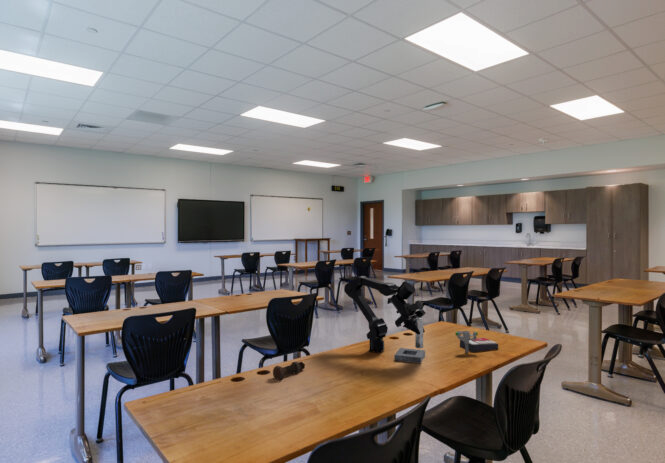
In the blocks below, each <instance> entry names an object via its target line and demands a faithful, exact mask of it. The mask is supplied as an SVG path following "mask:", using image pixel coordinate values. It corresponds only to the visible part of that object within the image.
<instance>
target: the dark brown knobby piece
mask: <svg viewBox="0 0 665 463" xmlns="http://www.w3.org/2000/svg"><path fill="white" fill-rule="evenodd" d="M305 368H306V364H305V363H304V362H303V361H292V362H291V364H289V365H286V366H283V367H282V366H279V365H276V366H274V367H273V370H272V377H273V378H274V380H278V381H281V380H283V379H284V377H285V376H287V375H290V374H292V373H293V374H299V373H300V372H301V370H304V369H305Z"/></svg>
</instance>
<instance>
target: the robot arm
mask: <svg viewBox="0 0 665 463" xmlns="http://www.w3.org/2000/svg"><path fill="white" fill-rule="evenodd" d="M364 287H368V288H370V289H374V290H376V291H378V293H379V294H381V295H382V296H385V297H388V298H387V303H386V304H387V305H389V304H392V305H393V306H394V308H395V310H396V312H395V313H396V314H399V315H400V316H398V318H397V319H395V321H394V325H395V326H396V328H400V327H403V328H405V329H407V330H409V331H411V332H413V333H414V334H415V333H417V334H418V335H420V334H421V333H420V331H419V329H418V328H417V326H416V325H415V318H423V317H424V316H425V315H426V314H427V313H426V311H425V310H424V309H423V308H424V307H423V306H424V303H423V302H422V301H421V300H420V299H418V300H415V301H414V303H410V302H407V300H408V299H409V298H411V296H413V295H414V293H415V292H416V288H415V286H414V285H412V284H411V283H410V282H407V281H406V280H405V281H402V283H401V285H400V286H398V285H397V284H396V283H395V282H386V281H385V282H382V281H379V280H378V279H373V278H370V277H367V276H366V275H361V276H357V277H356V278H354V279H353V280H351V281H350V282H348V283H346V284H344V288H343V290H344V293H345V294H346V295H347V296H348V298H349V299H352V300H353V301H354V302H355V304H356V305H357V307H358V308H359V310H360V312H361V313H362V315H363V316H364V318H365V320H366V321H367V322H368V323H367V324H368V329H369V331H368V332H367V333H366V339H367V340H369V349H368V352H370V351H374V352H373V353H382V352H383V351H384V350H385V340H384V338H386V336H387V333H388V326H387V325H388V324H387V323H386V322H385V320H384V318H382V317H380V318H379V317H377V315H376V314H375V312H374V310H373V309H372V307H370V305H369V303H368V301H367V300H366V299H365V298H364V295H363V289H362V288H364ZM389 296H391V297H389ZM402 324H403V325H402ZM425 332H426V330H425V328H424V327H423V334H424V333H425Z"/></svg>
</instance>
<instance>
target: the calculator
mask: <svg viewBox="0 0 665 463" xmlns="http://www.w3.org/2000/svg"><path fill="white" fill-rule="evenodd" d="M459 347H461V348H463V349H465V343H464V340H459ZM493 349H496V350H498V349H499V343H497V342H496V341H494V340H490V339H489V338H486V337H476V340H469V344H468V352H472V353H474V352H475V353H476V352H482V351H484V352H485V351H494V350H493Z"/></svg>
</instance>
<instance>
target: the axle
mask: <svg viewBox="0 0 665 463" xmlns="http://www.w3.org/2000/svg"><path fill="white" fill-rule="evenodd" d="M415 325H416V326H417V328H418V329H419V331H420V333H421V334H420V335H418V334H417V333H415V332H414V334H415V336H414V337H415V340H414V341H415V342H414V343H415V344H414V347H415V348H416V349H423V348H424V333H423V328H424V318H423V317H422V318H415Z"/></svg>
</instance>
